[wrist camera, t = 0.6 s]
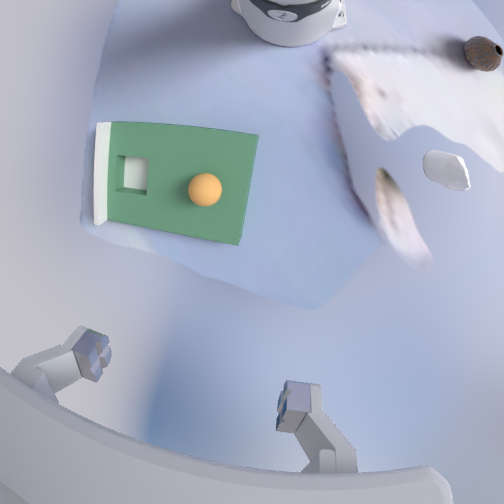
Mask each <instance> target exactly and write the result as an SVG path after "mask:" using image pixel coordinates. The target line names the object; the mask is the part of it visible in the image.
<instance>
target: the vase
mask: <svg viewBox="0 0 504 504" xmlns="http://www.w3.org/2000/svg"><path fill="white" fill-rule="evenodd" d="M464 52H465V56H466V58H467V60H468V61H469V63H470V64H471V65H472V66H473V67H474V68H476V69H478V70H481V71H485V72H488V71H493V70H495V69H496V68H498V67H499V65H500V63H501V58H502V56H503V50H502V48H501V47H500V46H499V45H498V44H496V43H494V42H493V41H491V40H490V39H488V38H486V37H481V36H476V37H472V38H470V39H469V40H468V41H467V42H466V44H465V47H464Z"/></svg>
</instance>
